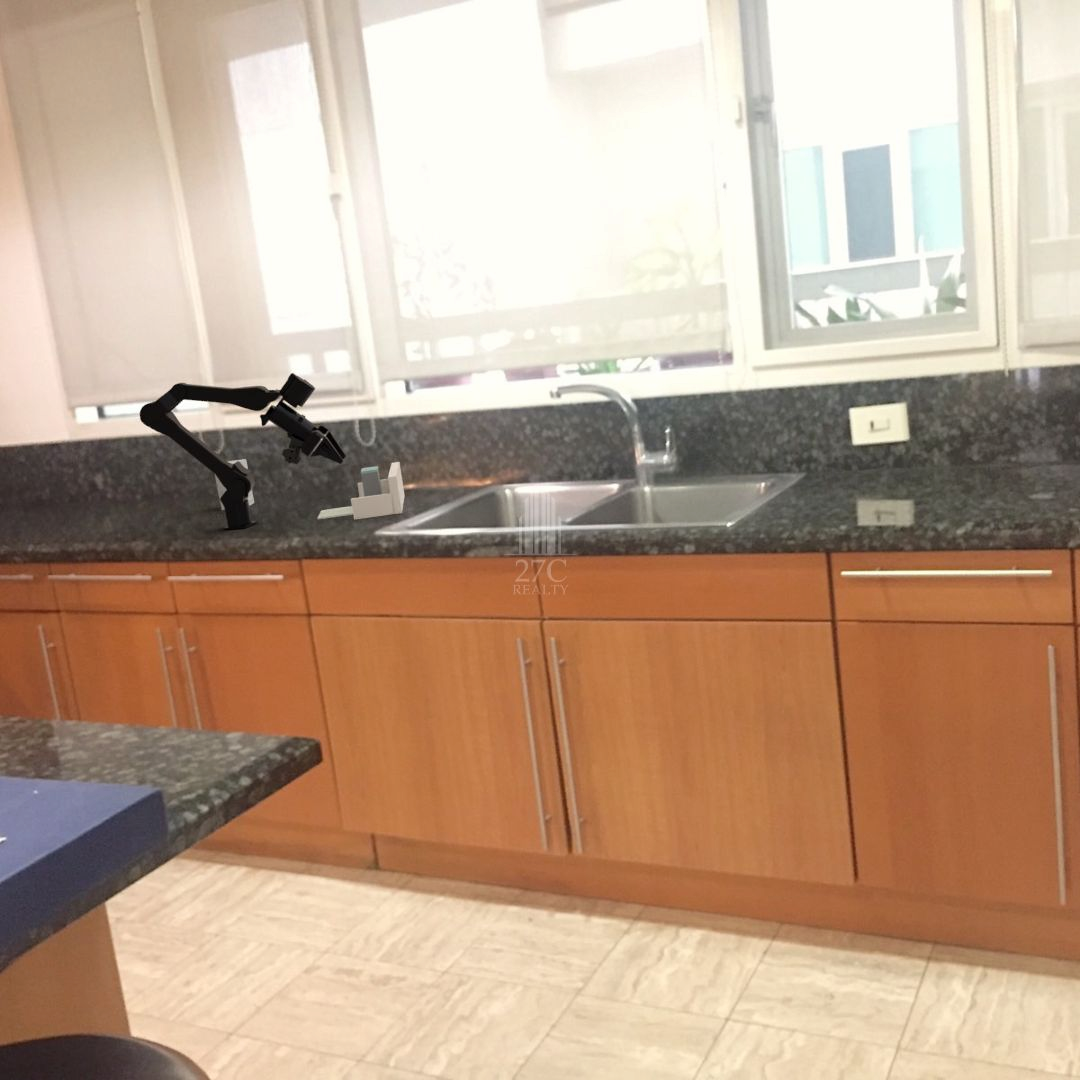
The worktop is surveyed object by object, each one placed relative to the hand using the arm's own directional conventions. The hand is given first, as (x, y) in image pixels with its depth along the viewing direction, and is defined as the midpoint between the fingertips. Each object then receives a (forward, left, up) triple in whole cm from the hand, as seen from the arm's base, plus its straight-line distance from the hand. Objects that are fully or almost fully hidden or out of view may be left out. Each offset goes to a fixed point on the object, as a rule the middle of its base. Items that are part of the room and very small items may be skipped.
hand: (343, 459), depth 295 cm
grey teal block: (+2, -6, -13) cm, 14 cm away
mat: (-1, +3, -13) cm, 13 cm away
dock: (+3, -7, -13) cm, 15 cm away
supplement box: (+20, +44, -13) cm, 50 cm away
